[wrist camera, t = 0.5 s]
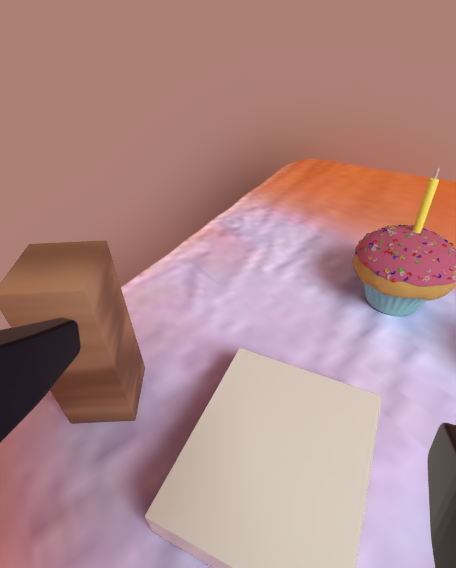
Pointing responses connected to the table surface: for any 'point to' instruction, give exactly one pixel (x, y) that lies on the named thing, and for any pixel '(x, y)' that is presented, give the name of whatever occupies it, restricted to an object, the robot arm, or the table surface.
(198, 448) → the plate
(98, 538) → the table surface
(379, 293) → the cupcake
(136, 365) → the brown wooden block
